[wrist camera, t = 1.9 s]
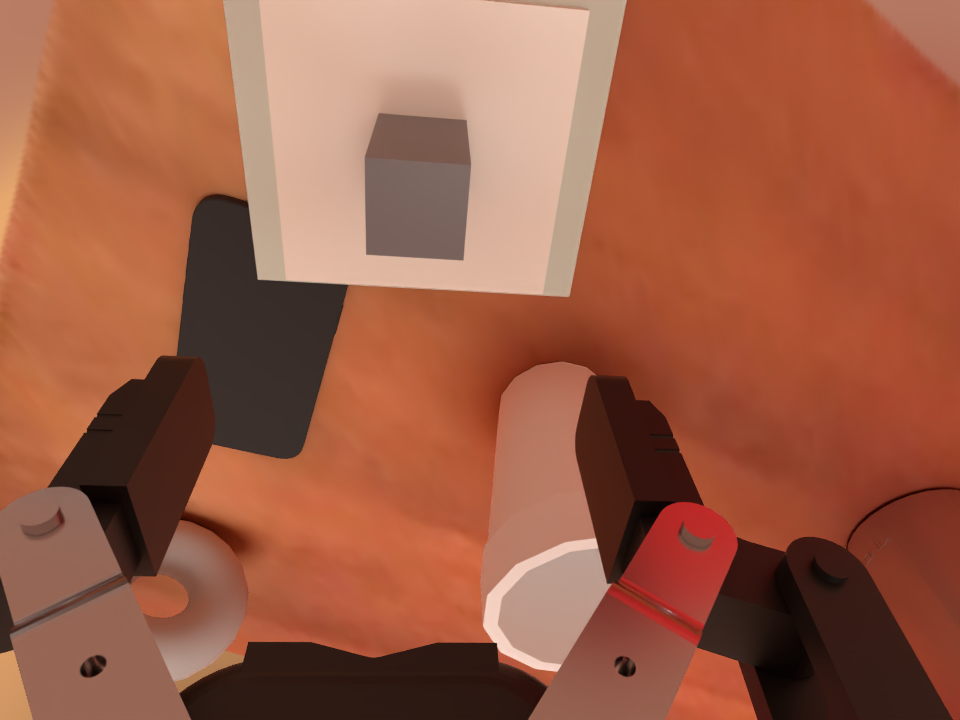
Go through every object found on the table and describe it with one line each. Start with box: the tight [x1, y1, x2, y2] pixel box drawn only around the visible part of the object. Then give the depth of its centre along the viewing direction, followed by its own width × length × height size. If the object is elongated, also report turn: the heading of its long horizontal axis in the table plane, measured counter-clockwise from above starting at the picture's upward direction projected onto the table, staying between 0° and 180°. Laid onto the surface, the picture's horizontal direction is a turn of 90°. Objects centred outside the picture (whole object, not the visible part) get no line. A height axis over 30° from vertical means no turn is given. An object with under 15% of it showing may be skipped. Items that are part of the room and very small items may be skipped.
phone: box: [177, 195, 348, 459], centre depth 33 cm, size 7×1×15 cm
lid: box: [259, 0, 590, 294], centre depth 25 cm, size 12×12×6 cm
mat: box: [223, 0, 627, 297], centre depth 27 cm, size 15×13×1 cm
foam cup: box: [480, 361, 611, 672], centre depth 31 cm, size 10×9×13 cm
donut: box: [130, 520, 248, 681], centre depth 37 cm, size 10×4×10 cm, turn 59°
